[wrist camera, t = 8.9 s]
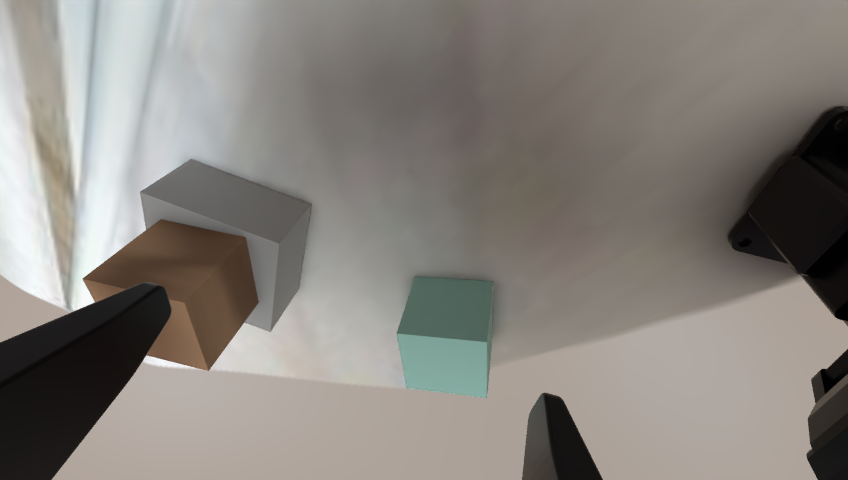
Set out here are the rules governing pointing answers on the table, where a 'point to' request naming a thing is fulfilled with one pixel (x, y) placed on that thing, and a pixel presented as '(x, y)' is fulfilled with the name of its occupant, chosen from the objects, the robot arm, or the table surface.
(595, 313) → the table surface
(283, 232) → the slate block
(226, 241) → the walnut cube
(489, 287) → the teal cube
